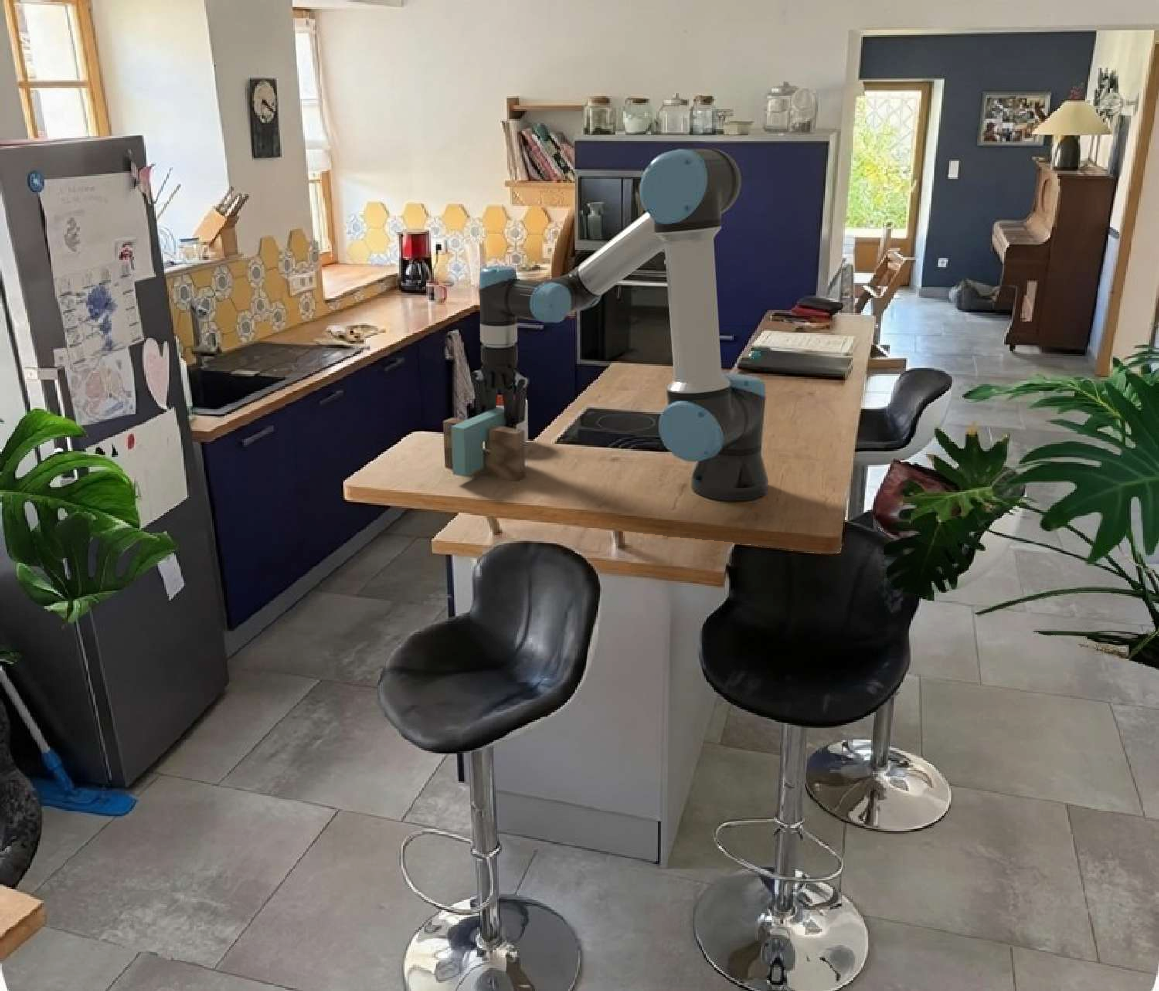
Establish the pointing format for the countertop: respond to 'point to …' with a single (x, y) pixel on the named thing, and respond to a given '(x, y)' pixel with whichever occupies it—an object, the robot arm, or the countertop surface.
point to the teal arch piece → (473, 440)
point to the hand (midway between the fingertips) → (501, 452)
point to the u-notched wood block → (494, 451)
